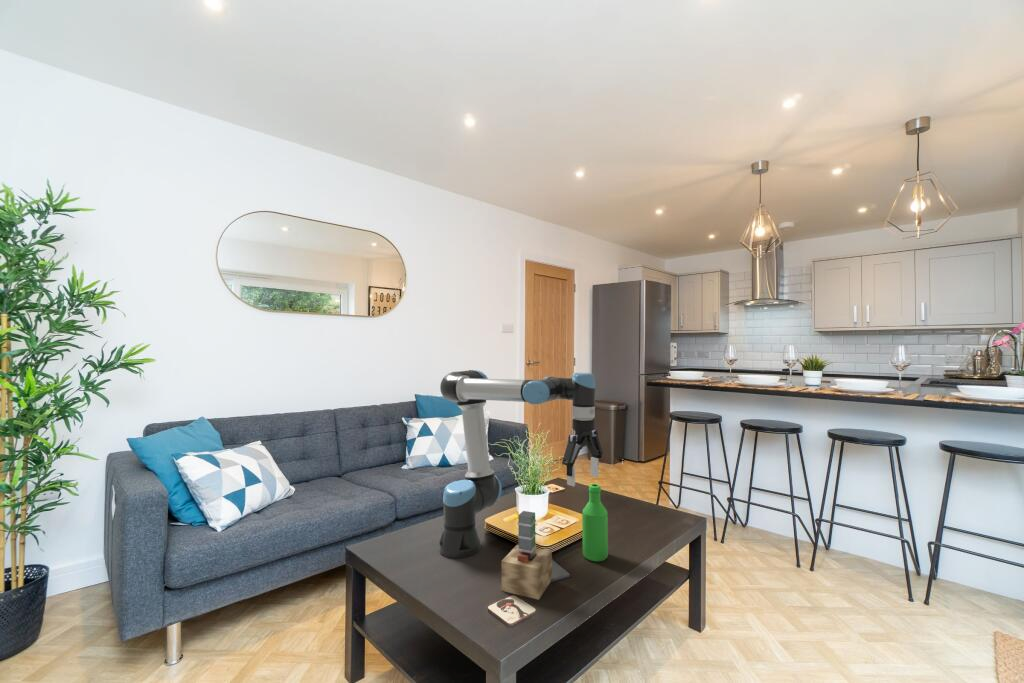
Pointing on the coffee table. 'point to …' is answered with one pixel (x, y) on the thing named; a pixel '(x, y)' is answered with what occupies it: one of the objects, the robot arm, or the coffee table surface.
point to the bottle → (595, 527)
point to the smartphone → (558, 572)
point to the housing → (526, 573)
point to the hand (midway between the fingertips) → (583, 480)
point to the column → (527, 534)
